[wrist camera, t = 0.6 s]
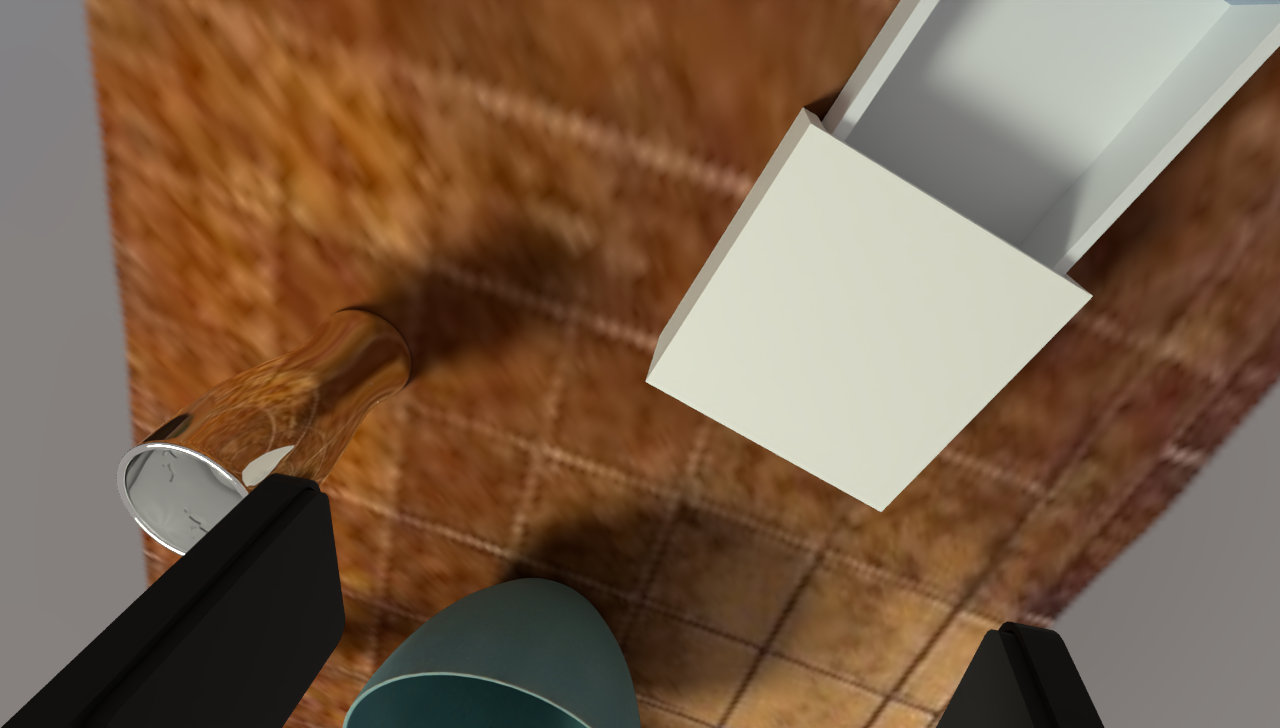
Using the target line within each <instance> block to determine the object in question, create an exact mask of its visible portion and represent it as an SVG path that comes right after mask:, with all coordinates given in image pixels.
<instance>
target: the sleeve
mask: <svg viewBox="0 0 1280 728" xmlns="http://www.w3.org/2000/svg"><path fill="white" fill-rule="evenodd" d="M1092 297H1093V296H1092V295H1091V294H1090V293H1089V292H1087V291H1086V290H1085V289H1084V288H1083V287H1081V286H1080V285H1079V284H1078V283H1077V282H1075V281H1074V280H1073V279H1072V278H1071V277H1070V276H1068V275H1067V274H1065V275H1064V276H1062V275H1060V274H1059V273H1057V272H1056V271H1054V270H1052V269H1051V268H1049V267H1047V266H1046V265H1044V264H1043V263H1041V262H1039V261H1038V260H1036V259H1034V258H1033V257H1031V256H1029V255H1028V254H1026V253H1025V252H1023V251H1021V250H1020V249H1018V248H1016V247H1015V246H1013V245H1012V244H1010V243H1008V242H1007V241H1005V240H1003V239H1002V238H1000V237H998V236H997V235H995V234H994V233H992V232H990V231H989V230H987V229H985V228H984V227H982V226H981V225H979V224H977V223H976V222H974V221H972V220H971V219H969V218H967V217H966V216H964V215H963V214H961V213H959V212H958V211H956V210H954V209H953V208H951V207H949V206H948V205H946V204H945V203H943V202H941V201H940V200H938V199H936V198H935V197H933V196H932V195H930V194H928V193H927V192H925V191H923V190H922V189H920V188H918V187H917V186H915V185H914V184H912V183H910V182H909V181H907V180H905V179H904V178H902V177H901V176H899V175H897V174H896V173H894V172H892V171H891V170H889V169H887V168H886V167H884V166H883V165H881V164H879V163H878V162H876V161H874V160H873V159H871V158H869V157H868V156H866V155H865V154H863V153H861V152H860V151H858V150H856V149H855V148H853V147H852V146H850V145H848V144H847V143H845V142H843V141H842V140H840V139H838V138H837V137H835V136H834V135H832V134H830V133H829V132H827V131H826V130H825V128H824V127H823V125H822V123H821V121H820V120H819V118H818V116H817V115H815V114H813V113H812V112H810V111H809V110H807V109H805V108H804V107H803V108H802V110H801V111H800V113H799V114H798V116H797V117H796V119H795V121H794V122H793V124H792V125H791V127H790V129H789V130H788V132H787V133H786V135H785V137H784V138H783V140H782V141H781V143H780V145H779V146H778V148H777V149H776V151H775V153H774V154H773V156H772V157H771V159H770V161H769V162H768V164H767V165H766V167H765V169H764V170H763V172H762V173H761V175H760V177H759V178H758V180H757V181H756V183H755V185H754V186H753V188H752V189H751V191H750V192H749V194H748V196H747V197H746V199H745V200H744V202H743V204H742V205H741V207H740V208H739V210H738V212H737V213H736V215H735V216H734V218H733V220H732V221H731V223H730V224H729V226H728V228H727V229H726V231H725V232H724V234H723V236H722V237H721V239H720V240H719V242H718V244H717V245H716V247H715V248H714V250H713V252H712V253H711V255H710V256H709V258H708V259H707V261H706V263H705V264H704V266H703V267H702V269H701V271H700V272H699V274H698V275H697V277H696V279H695V280H694V282H693V283H692V285H691V287H690V288H689V290H688V291H687V293H686V295H685V296H684V298H683V299H682V301H681V303H680V304H679V306H678V307H677V309H676V311H675V312H674V314H673V315H672V317H671V319H670V320H669V322H668V323H667V325H666V326H665V328H664V330H663V331H662V333H661V334H660V337H659V340H658V343H657V346H656V349H655V353H654V356H653V359H652V362H651V365H650V369H649V372H648V375H647V378H646V382H647V383H649V384H651V385H653V386H654V387H656V388H658V389H660V390H662V391H663V392H665V393H667V394H669V395H671V396H672V397H674V398H676V399H678V400H680V401H681V402H683V403H685V404H687V405H689V406H691V407H692V408H694V409H696V410H698V411H700V412H701V413H703V414H705V415H707V416H709V417H710V418H712V419H714V420H716V421H718V422H719V423H721V424H723V425H725V426H727V427H728V428H730V429H732V430H734V431H736V432H737V433H739V434H741V435H743V436H745V437H746V438H748V439H750V440H752V441H754V442H756V443H757V444H759V445H761V446H763V447H765V448H766V449H768V450H770V451H772V452H774V453H775V454H777V455H779V456H781V457H783V458H784V459H786V460H788V461H790V462H792V463H793V464H795V465H797V466H799V467H801V468H802V469H804V470H806V471H808V472H810V473H811V474H813V475H815V476H817V477H819V478H820V479H822V480H824V481H826V482H828V483H830V484H831V485H833V486H835V487H837V488H839V489H840V490H842V491H844V492H846V493H848V494H849V495H851V496H853V497H855V498H857V499H858V500H860V501H862V502H864V503H866V504H867V505H869V506H871V507H873V508H875V509H876V510H878V511H880V512H882V511H883V510H884V509H885V508H886V507H887V506H888V505H889V504H890V503H891V501H892V500H893V499H894V498H895V497H896V496H897V495H898V494H899V493H900V492H901V491H902V490H903V489H904V488H905V487H906V486H907V485H908V484H909V483H910V482H911V481H912V480H913V479H914V478H915V477H916V476H917V475H918V474H919V473H920V472H921V471H922V470H923V469H924V468H925V467H926V466H927V465H928V464H929V463H930V462H931V461H932V460H933V459H934V458H935V457H936V456H937V455H938V454H939V453H940V452H941V451H942V450H943V449H944V448H945V446H946V445H947V444H948V443H949V442H950V441H951V440H952V439H953V438H954V437H955V436H956V435H957V434H958V433H959V432H960V431H961V430H962V429H963V428H964V427H965V426H966V425H967V424H968V423H969V422H970V421H971V420H972V419H973V418H974V417H975V416H976V415H977V414H978V413H979V412H980V411H981V410H982V409H983V408H984V407H985V406H986V405H987V404H988V403H989V402H990V401H991V400H992V399H993V398H994V397H995V396H996V395H997V394H998V393H999V391H1000V390H1001V389H1002V388H1003V387H1004V386H1005V385H1006V384H1007V383H1008V382H1009V381H1010V380H1011V379H1012V378H1013V377H1014V376H1015V375H1016V374H1017V373H1018V372H1019V371H1020V370H1021V369H1022V368H1023V367H1024V366H1025V365H1026V364H1027V363H1028V362H1029V361H1030V360H1031V359H1032V358H1033V357H1034V356H1035V355H1036V354H1037V353H1038V352H1039V351H1040V350H1041V349H1042V348H1043V347H1044V346H1045V345H1046V344H1047V343H1048V342H1049V341H1050V340H1051V339H1052V338H1053V336H1054V335H1055V334H1056V333H1057V332H1058V331H1059V330H1060V329H1061V328H1062V327H1063V326H1064V325H1065V324H1066V323H1067V322H1068V321H1069V320H1070V319H1071V318H1072V317H1073V316H1074V315H1075V314H1076V313H1077V312H1078V311H1079V310H1080V309H1081V308H1082V307H1083V306H1084V305H1085V304H1086V303H1087V302H1088V301H1089V300H1090V299H1091V298H1092Z"/></svg>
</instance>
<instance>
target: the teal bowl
mask: <svg viewBox="0 0 1280 728" xmlns="http://www.w3.org/2000/svg"><path fill="white" fill-rule="evenodd" d="M343 728H641V725H640V717H639V710H638V704H637V699H636V695H635V690H634V686H633V682H632V679H631V675H630V672H629V669H628V666H627V663H626V661H625V658H624V656H623V653H622V651H621V649H620V647H619V644H618V643H617V641H616V639H615V637H614V635H613V634H612V632H611V630H610V629H609V627H608V625H607V624H606V622H605V621H604V619H603V618H602V617H601V615H600V614H599V612H598V611H597V610H596V609H595V607H594V606H593V605H592V604H591V603H590V602H589V601H588V600H587V599H586V598H585V597H583V596H582V595H581V594H579V593H578V592H577V591H575V590H573V589H572V588H570V587H568V586H566V585H564V584H561V583H558V582H555V581H552V580H547V579H542V578H523V579H517V580H512V581H508V582H504V583H501V584H497V585H494V586H491V587H488V588H485V589H482V590H479V591H477V592H475V593H472V594H470V595H468V596H466V597H464V598H462V599H460V600H458V601H457V602H455V603H453V604H451V605H450V606H448V607H447V608H445V609H444V610H442V611H441V612H439V613H438V614H436V615H435V616H433V617H432V618H431V619H429V620H428V621H427V622H426V623H424V624H423V625H422V626H421V627H420V628H418V629H417V630H416V631H415V632H414V633H413V634H411V635H410V636H409V637H408V638H407V639H406V640H405V641H404V642H403V643H402V644H401V645H400V646H399V647H398V648H397V649H396V650H395V651H394V652H393V653H392V654H391V655H390V656H389V657H388V658H387V660H386V661H385V662H384V663H383V664H382V665H381V667H380V668H379V669H378V670H377V671H376V672H375V674H374V675H373V676H372V677H371V679H370V680H369V681H368V682H367V684H366V685H365V686H364V688H363V689H362V691H361V692H360V694H359V695H358V697H357V698H356V699H355V701H354V703H353V704H352V706H351V707H350V709H349V711H348V712H347V714H346V717H345V720H344V724H343Z"/></svg>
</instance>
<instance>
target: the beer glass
mask: <svg viewBox="0 0 1280 728" xmlns="http://www.w3.org/2000/svg"><path fill="white" fill-rule="evenodd" d="M410 373H411V356H410V352H409V349H408V347H407V344H406V343H405V341H404V339H403V338H402V336H401V335H400V334H399V332H398V331H397V330H396V329H395V328H394V327H393V326H392V325H391V324H390V323H388V322H387V321H386V320H384V319H383V318H381V317H379V316H377V315H375V314H373V313H370V312H367V311H363V310H356V309H350V310H343V311H340V312H337V313H335V314H333V315H331V316H330V317H329V318H327V319H326V320H325V321H324V322H323V323H322V324H321V326H320V327H319V328H318V329H317V330H316V332H315V333H314V334H313V335H312V337H311V338H310V339H309V340H308V341H307V342H306V343H304V344H303V345H302V346H300V347H298V348H297V349H295V350H293V351H291V352H288V353H286V354H284V355H282V356H279V357H277V358H274V359H272V360H269V361H267V362H264V363H262V364H260V365H257V366H255V367H252V368H250V369H248V370H245V371H243V372H241V373H239V374H237V375H235V376H233V377H231V378H229V379H227V380H225V381H223V382H221V383H219V384H218V385H216V386H214V387H213V388H211V389H210V390H208V391H207V392H205V393H203V394H202V395H200V396H199V397H197V398H196V399H194V400H193V401H192V402H190V403H189V404H188V405H186V406H185V407H183V408H182V409H181V410H179V411H178V412H177V413H175V414H174V415H173V416H172V417H170V418H169V419H168V420H167V421H166V422H164V423H163V424H162V425H161V426H159V427H158V428H157V429H156V430H155V431H154V432H152V433H151V434H150V435H149V436H148V437H146V438H145V439H144V440H143V441H142V442H140V443H139V444H138V445H137V446H135V447H133V448H132V449H130V450H129V451H128V452H127V453H126V454H125V455H124V456H123V457H122V459H121V460H120V462H119V465H118V468H117V474H116V482H117V488H118V491H119V495H120V497H121V500H122V502H123V504H124V506H125V507H126V509H127V511H128V512H129V514H130V515H131V517H132V518H133V519H134V520H135V522H136V523H137V524H138V525H139V526H140V527H141V528H142V529H143V530H144V531H145V532H146V533H147V534H148V535H149V536H151V537H152V538H153V539H154V540H156V541H157V542H158V543H160V544H161V545H163V546H164V547H166V548H168V549H169V550H171V551H173V552H175V553H177V554H179V555H181V556H183V555H185V554H186V553H187V552H188V551H189V550H190V549H191V548H192V547H193V546H194V545H195V544H196V543H197V542H198V541H199V540H200V539H201V538H202V537H204V536H205V535H206V534H207V533H208V532H209V531H210V530H211V529H212V528H213V527H214V526H215V525H216V524H217V523H218V522H219V521H220V520H222V519H223V518H224V517H225V516H226V515H227V514H228V513H229V512H230V511H231V510H232V509H233V508H234V507H235V506H236V505H237V504H238V503H239V502H241V501H242V500H243V499H244V498H245V497H246V496H247V495H248V494H249V493H250V492H251V491H252V490H253V489H254V488H255V487H256V486H257V485H259V484H260V483H261V482H262V481H263V480H264V479H265V478H266V477H268V476H269V475H270V474H274V473H280V474H285V475H290V476H295V477H300V478H305V479H310V480H314V481H316V482H317V483H318V485H319V487H320V486H321V485H322V483H323V482H324V481H325V480H326V479H327V477H328V476H329V474H330V473H331V472H332V470H333V469H334V467H335V466H336V464H337V463H338V461H339V460H340V458H341V457H342V455H343V453H344V452H345V450H346V448H347V447H348V445H349V443H350V442H351V440H352V438H353V437H354V435H355V433H356V431H357V430H358V428H359V426H360V425H361V423H362V422H363V420H364V418H365V417H366V416H367V415H368V413H369V412H370V411H371V410H372V409H373V408H374V407H376V406H377V405H378V404H380V403H382V402H383V401H385V400H387V399H388V398H390V397H392V396H393V395H395V394H396V393H397V392H399V391H400V390H401V389H402V388H403V387H404V386H405V384H406V383H407V381H408V379H409V376H410Z"/></svg>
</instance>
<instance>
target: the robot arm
mask: <svg viewBox="0 0 1280 728" xmlns="http://www.w3.org/2000/svg"><path fill="white" fill-rule="evenodd" d="M344 626H345V613H344V606H343V599H342V591H341V584H340V577H339V570H338V563H337V555H336V548H335V541H334V534H333V526H332V519H331V512H330V505H329V499H328V496H327V495H326V494H325V493H322V492H320V488H319V485H318V483H317V482H316V481H314V480H310V479H305V478H300V477H295V476H290V475H285V474H280V473H274V474H270V475H269V476H268V477H266V478H265V479H264V480H263V481H262V482H261V483H260V484H259V485H257V486H256V487H255V488H254V489H253V490H252V491H251V492H250V493H249V494H248V495H247V496H246V497H245V498H244V499H243V500H242V501H241V502H239V503H238V504H237V505H236V506H235V507H234V508H233V509H232V510H231V511H230V512H229V513H228V514H227V515H226V516H225V517H224V518H223V519H222V520H220V521H219V522H218V523H217V524H216V525H215V526H214V527H213V528H212V529H211V530H210V531H209V532H208V533H207V534H206V535H205V536H204V537H202V538H201V539H200V540H199V541H198V542H197V543H196V544H195V545H194V546H193V547H192V548H191V549H190V550H189V551H188V552H187V553H186V554H185V555H183V556H182V557H181V558H180V559H179V560H178V561H177V562H176V563H175V564H174V565H173V566H171V567H170V568H169V569H168V570H167V571H166V572H165V573H164V574H163V575H162V576H161V577H160V578H159V579H158V580H157V581H156V582H155V583H153V584H152V585H151V586H150V587H149V588H148V589H147V590H146V591H145V592H144V593H143V594H142V595H141V596H140V597H139V598H138V599H137V600H136V601H134V602H133V603H132V604H131V605H130V606H129V607H128V608H127V609H126V610H125V611H124V612H123V613H122V614H121V615H120V616H119V617H118V618H116V619H115V621H113V622H112V623H111V624H110V625H109V626H108V627H107V628H106V629H105V630H104V631H103V632H102V633H101V634H100V635H98V636H97V637H96V638H95V639H94V640H93V641H92V642H91V643H90V644H89V645H88V646H87V647H86V648H85V649H84V650H83V651H82V652H81V653H79V654H78V656H76V657H75V658H74V659H73V660H72V661H71V662H70V663H69V664H68V665H67V666H66V667H65V668H64V669H63V670H61V671H60V672H59V673H58V674H57V675H56V676H55V677H54V678H53V679H52V680H51V681H50V682H49V683H48V684H47V685H46V686H45V687H44V688H42V689H41V690H40V691H39V692H38V693H37V694H36V695H35V696H34V697H33V698H32V699H31V700H30V701H29V702H28V703H27V704H26V705H25V706H23V707H22V708H21V709H20V710H19V711H18V712H17V713H16V714H15V715H14V716H13V717H12V718H11V719H10V720H9V721H8V722H6V723H5V724H4V725H3V726H2V727H1V728H282V727H283V725H284V724H285V722H286V721H287V719H288V718H289V716H290V715H291V713H292V712H293V710H294V709H295V707H296V706H297V704H298V703H299V701H300V700H301V698H302V697H303V695H304V694H305V692H306V691H307V689H308V688H309V686H310V685H311V683H312V682H313V680H314V679H315V677H316V676H317V674H318V673H319V671H320V670H321V668H322V667H323V665H324V664H325V662H326V661H327V659H328V658H329V656H330V655H331V653H332V652H333V650H334V649H335V648H336V646H337V644H338V643H339V641H340V638H341V636H342V634H343V630H344ZM936 728H1104V726H1103V724H1102V721H1101V719H1100V717H1099V715H1098V713H1097V711H1096V709H1095V707H1094V705H1093V703H1092V700H1091V698H1090V696H1089V694H1088V692H1087V690H1086V688H1085V685H1084V683H1083V681H1082V680H1081V677H1080V675H1079V673H1078V671H1077V669H1076V666H1075V664H1074V662H1073V660H1072V658H1071V656H1070V654H1069V652H1068V649H1067V647H1066V645H1065V643H1064V641H1063V640H1062V638H1061V637H1060V635H1059V634H1058V633H1056V632H1055V631H1053V630H1049V629H1044V628H1039V627H1034V626H1029V625H1024V624H1019V623H1014V622H1008V621H1007V622H1006V623H1004V624H1002V626H1001V627H1000V628H999V630H998V631H997V630H992V629H991V630H989V631H988V632H987V633H986V635H985V636H984V638H983V640H982V642H981V644H980V646H979V648H978V649H977V651H976V653H975V655H974V657H973V659H972V661H971V663H970V665H969V667H968V668H967V670H966V672H965V674H964V676H963V678H962V680H961V682H960V684H959V685H958V687H957V689H956V691H955V693H954V695H953V697H952V699H951V701H950V702H949V704H948V706H947V708H946V710H945V712H944V714H943V716H942V718H941V720H940V721H939V723H938V725H937V727H936Z"/></svg>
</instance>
